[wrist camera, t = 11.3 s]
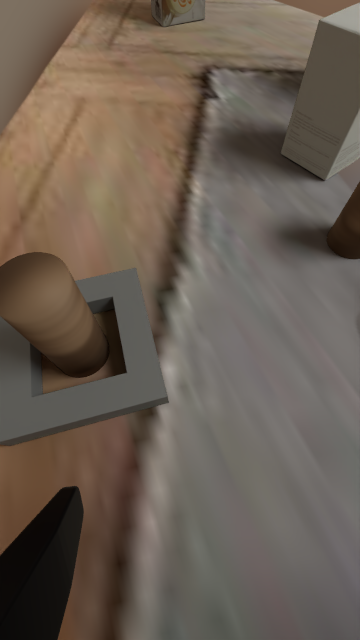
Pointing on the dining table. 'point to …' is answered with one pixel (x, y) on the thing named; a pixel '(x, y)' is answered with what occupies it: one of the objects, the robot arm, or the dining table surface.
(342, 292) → the dining table surface
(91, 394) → the socket block
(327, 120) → the supplement box
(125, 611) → the dining table surface
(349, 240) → the medium walnut peg
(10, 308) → the tall walnut peg
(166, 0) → the coffee box
